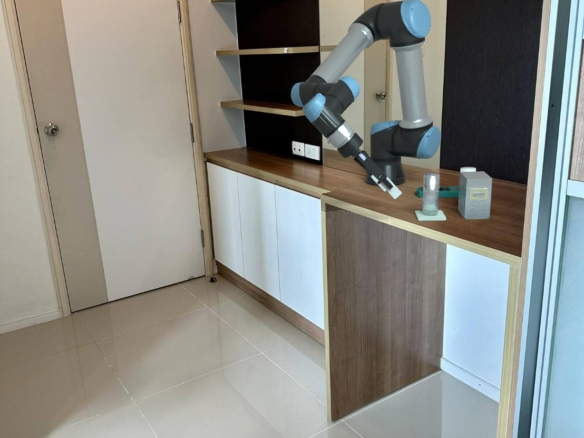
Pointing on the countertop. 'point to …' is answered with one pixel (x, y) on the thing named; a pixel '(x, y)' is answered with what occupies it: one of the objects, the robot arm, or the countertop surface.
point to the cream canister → (468, 169)
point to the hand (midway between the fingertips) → (392, 192)
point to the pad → (424, 217)
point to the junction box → (474, 195)
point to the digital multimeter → (442, 192)
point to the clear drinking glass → (430, 194)
